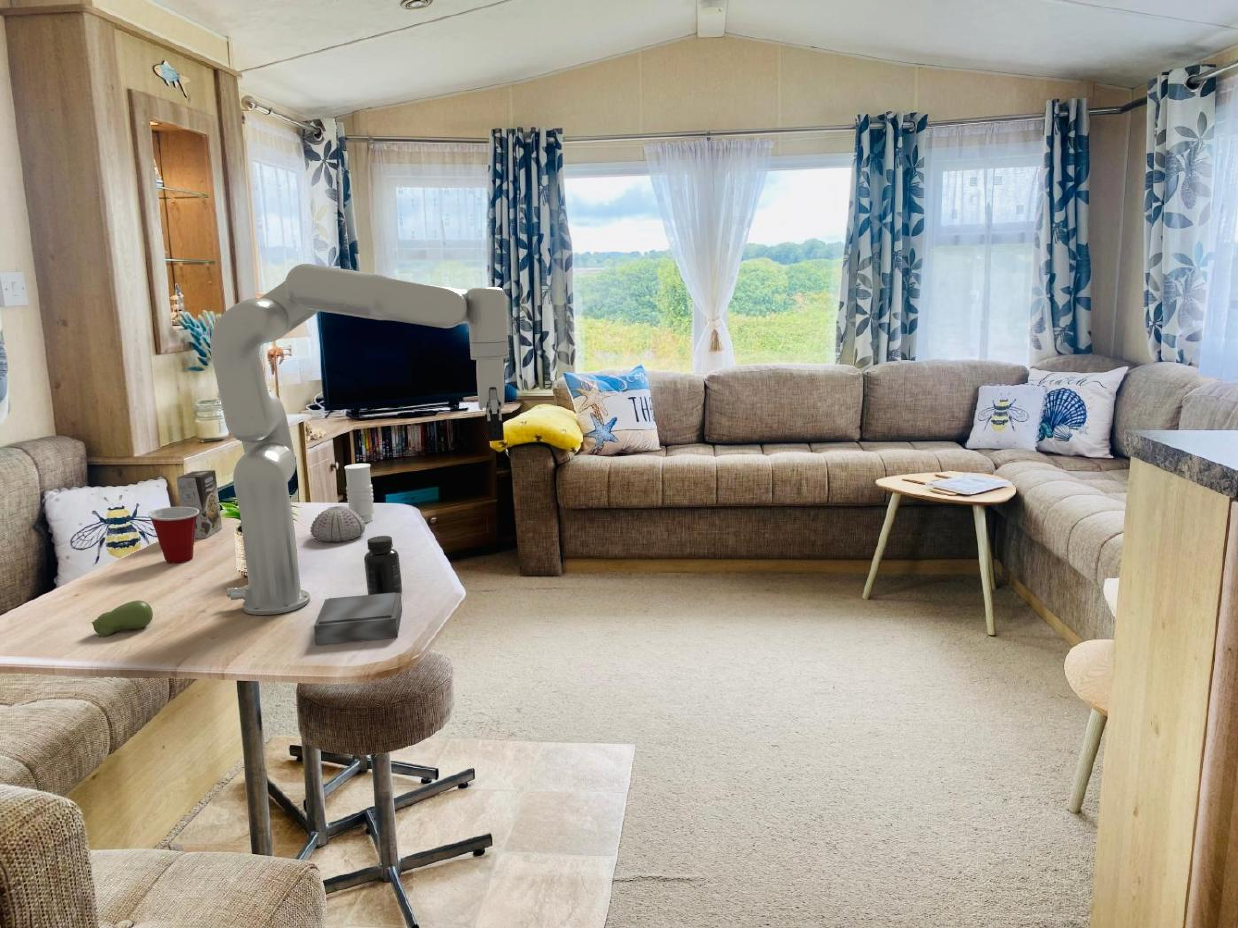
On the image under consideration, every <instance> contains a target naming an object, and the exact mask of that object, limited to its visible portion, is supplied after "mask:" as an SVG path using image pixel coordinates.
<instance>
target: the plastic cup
mask: <svg viewBox="0 0 1238 928" xmlns="http://www.w3.org/2000/svg"><path fill="white" fill-rule="evenodd" d="M198 514H199V510H198V509H196V508H192V507H180V506H170V507H164V508H163V507H161V508H158V509H155V510H152V511H150V512H148V518H150V521H151V523H152V525H153V528H154V531H155V534H156V538H157V540H158V544H159V546H160V550H161V552H162V555H163V557H164V561H165V562H166V564H172V565H173V564H181V563H182V564H183V563H186V562H189V561H191V560H193V557H194V546H195V538H194V536H195V524H196V520H197V516H198Z"/></svg>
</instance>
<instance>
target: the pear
mask: <svg viewBox="0 0 1238 928" xmlns="http://www.w3.org/2000/svg"><path fill="white" fill-rule="evenodd" d="M153 618H154V611H153V609H152V607H151V605H150V604H149V602H146V601H145V600H140V599H139V600H132V601H128V602H126V603H123V604H121V605H119V606H117V607H115V608H114V609H112V610H111V611H107V612H104V613H102V614H100V615H98V616H97V619H94V621H92V622H91V624H92V626H93V630H94V632H95V633H96V634H97V635H98V637H100V638H105V637H107V636H110V635H113V634H114V633H115V632H117V631H118V630H122V629H123V630H124V629H129V630H140V629H143V628H146V627H147V626H148V625H149V624H151V622H152V620H153Z"/></svg>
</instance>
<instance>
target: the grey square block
mask: <svg viewBox="0 0 1238 928" xmlns="http://www.w3.org/2000/svg"><path fill="white" fill-rule="evenodd" d="M402 602H403V601H402V593H386V594H374V595H368V594H365V595H354V596H353V595H351V596H343V597H341V596H339V597H331V598H325V599H324V602H323V604H322V606H321V608H320V611H319V613H318V615H317V618H316V620H315V623H314V625H313V627H314V628H313V629H314V639H315V646H321V645H333V644H343V643H355V642H363V641H365V642H366V641H375V640H386V639H387V640H388V639H397V638H399V632H400V626H401V619H402V615H403V604H402Z"/></svg>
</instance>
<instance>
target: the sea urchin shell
mask: <svg viewBox="0 0 1238 928" xmlns="http://www.w3.org/2000/svg"><path fill="white" fill-rule="evenodd" d="M309 528H310V532H311V533H310V535H311V536H312V538H315V540H319V541H323V542H326V543H327V542H335V543H336V542H341V541H342V542H347V541H352V540H355V539H357V538H360V536H362V535H363V534H364V533H365V530H366V523H364V521H363V519H361V517H360V516H359V515H358V514H357V513H356V512H354V511H353V510H351V509H350V508H349V507H347V506H345V505H344V506H343V505H339V506H338V505H336V506H330V507H328V508H327V509H325V510H323V511H321V513H318V514H317V516H316V517H314V520H313V521H312V523H311V526H310V527H309Z"/></svg>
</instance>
